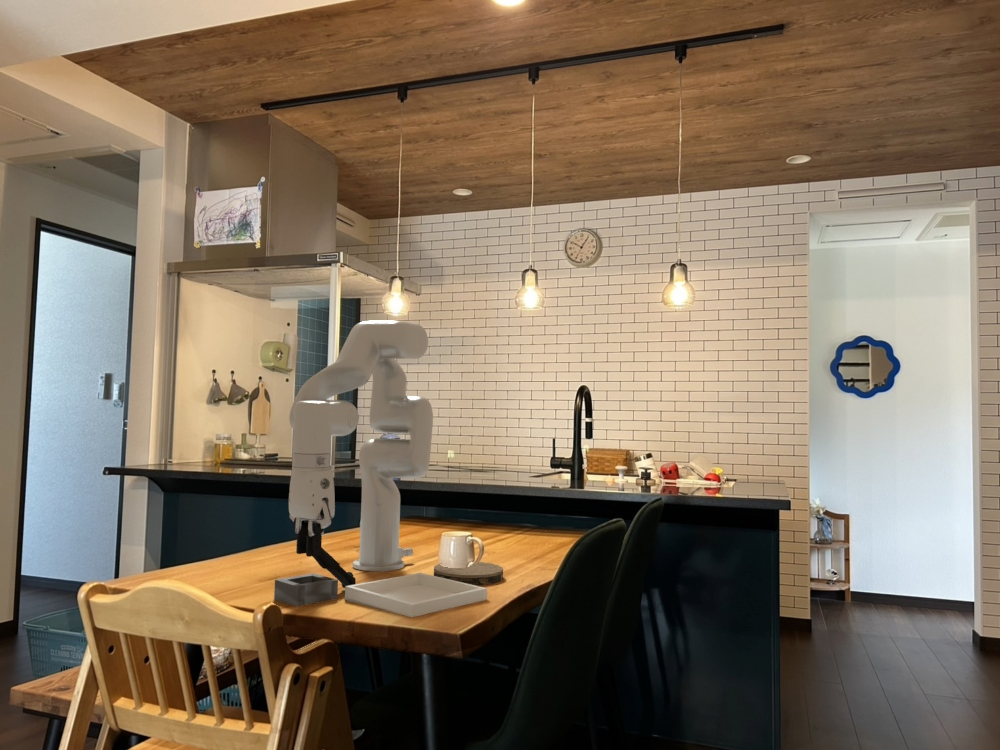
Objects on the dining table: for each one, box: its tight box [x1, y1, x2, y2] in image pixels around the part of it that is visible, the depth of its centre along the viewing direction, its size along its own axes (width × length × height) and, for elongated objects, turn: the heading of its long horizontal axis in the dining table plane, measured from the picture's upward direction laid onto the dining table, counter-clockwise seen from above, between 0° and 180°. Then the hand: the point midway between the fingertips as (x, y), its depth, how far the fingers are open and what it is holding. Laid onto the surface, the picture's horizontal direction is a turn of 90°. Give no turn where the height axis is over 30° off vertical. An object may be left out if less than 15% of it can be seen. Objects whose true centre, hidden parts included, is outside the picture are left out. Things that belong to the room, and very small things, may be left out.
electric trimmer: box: [305, 544, 357, 589], centre depth 157 cm, size 4×16×3 cm
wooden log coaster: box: [433, 561, 504, 586], centre depth 175 cm, size 16×16×3 cm
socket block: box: [273, 572, 339, 607], centre depth 153 cm, size 9×8×4 cm
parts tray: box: [344, 572, 488, 618], centre depth 153 cm, size 20×20×3 cm
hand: (308, 553), depth 153 cm, fingers closed on electric trimmer, 2 cm apart
